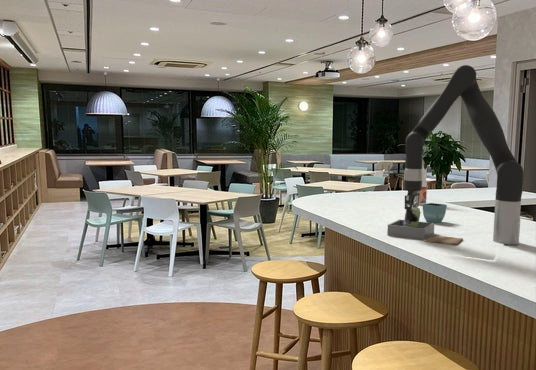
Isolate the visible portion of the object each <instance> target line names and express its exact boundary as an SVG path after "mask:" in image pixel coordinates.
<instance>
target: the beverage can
mask: <svg viewBox="0 0 536 370" xmlns="http://www.w3.org/2000/svg"><path fill="white" fill-rule="evenodd" d="M406 213H407V210H406V209H405V214H404V219H403V220H404V224H403V226H406V227H415V228H418V224H419V222H420V217H421V214H422V213H421V209H420V208H419V207H418V208H417V207H413V210H412V219H406Z"/></svg>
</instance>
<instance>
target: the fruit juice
mask: <svg viewBox="0 0 536 370" xmlns="http://www.w3.org/2000/svg"><path fill="white" fill-rule="evenodd" d="M424 162H425V160H424V159H422V190H421V191H417V193H420V195H419V206H422V204H427V193H428V191H427V190H428V181H427V177H428V172H427V171H426V169H425V166H424Z"/></svg>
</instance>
